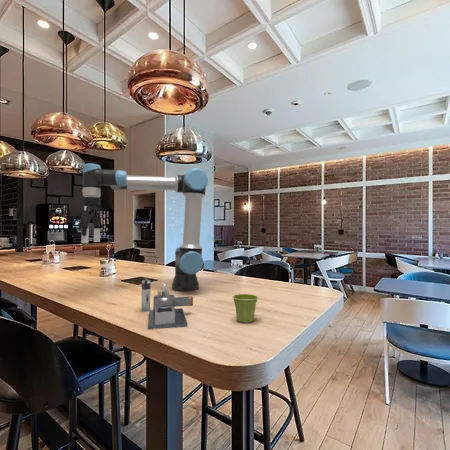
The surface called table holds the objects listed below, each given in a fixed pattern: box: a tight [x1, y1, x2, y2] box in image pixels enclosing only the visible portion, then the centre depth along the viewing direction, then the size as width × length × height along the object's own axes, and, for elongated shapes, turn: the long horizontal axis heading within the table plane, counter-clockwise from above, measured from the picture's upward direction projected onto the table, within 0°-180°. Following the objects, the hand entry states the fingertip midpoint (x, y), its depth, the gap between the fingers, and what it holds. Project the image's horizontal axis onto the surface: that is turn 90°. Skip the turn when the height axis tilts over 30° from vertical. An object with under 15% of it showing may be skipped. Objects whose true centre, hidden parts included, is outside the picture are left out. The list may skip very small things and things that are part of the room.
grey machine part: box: [152, 282, 194, 314], centre depth 109 cm, size 15×8×11 cm, turn 104°
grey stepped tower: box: [141, 277, 152, 313], centre depth 114 cm, size 4×6×13 cm, turn 14°
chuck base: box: [147, 307, 188, 330], centre depth 104 cm, size 13×19×5 cm
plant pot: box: [232, 293, 259, 324], centre depth 103 cm, size 9×9×9 cm
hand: (91, 242), depth 131 cm, fingers open, 13 cm apart
